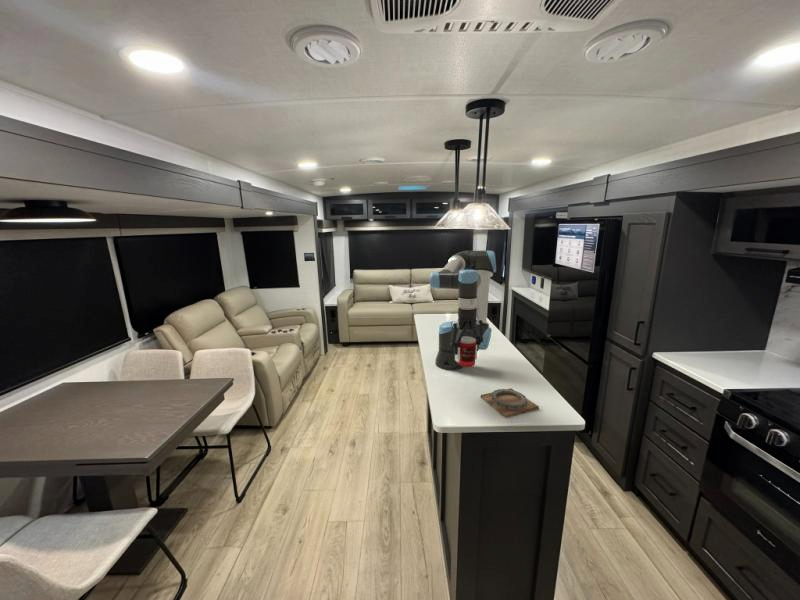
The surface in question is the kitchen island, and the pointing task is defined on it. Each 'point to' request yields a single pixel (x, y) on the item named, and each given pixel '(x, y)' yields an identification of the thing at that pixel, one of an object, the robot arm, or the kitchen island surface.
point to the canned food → (467, 351)
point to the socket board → (509, 402)
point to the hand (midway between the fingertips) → (465, 359)
